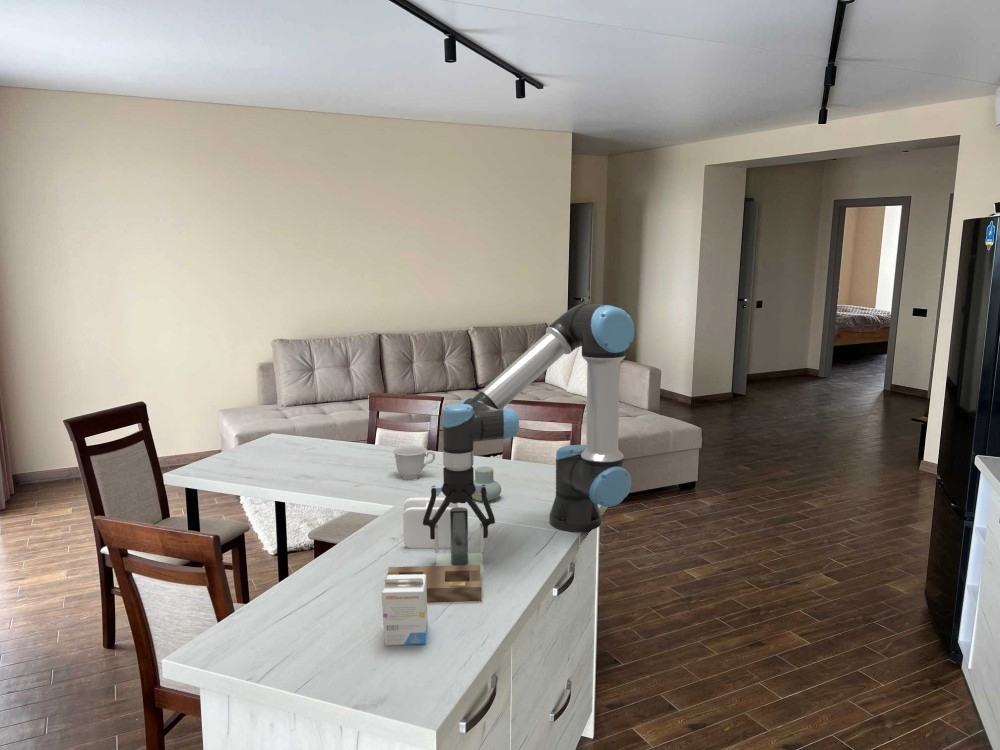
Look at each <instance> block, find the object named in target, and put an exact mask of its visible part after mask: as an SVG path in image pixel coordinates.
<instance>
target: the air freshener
mask: <svg viewBox="0 0 1000 750" xmlns="http://www.w3.org/2000/svg"><path fill="white" fill-rule="evenodd" d="M474 474H475V475H474V485H475V486H482V485H485V486H486V495H487V498H488V501H489V502H491V501H493V500H495V499H497V498H498V497H499V496H500V494H501V493H502V486H501V485H500V483H499V482H497V481H496V480H494V468H493V467H491V466H478V467H476V468H475V472H474ZM472 498H473V499H474V501H477V502H482V503H483V501H482V497H481V495H479V494H478V492H477V491H475V492H474V494H473V495H472Z"/></svg>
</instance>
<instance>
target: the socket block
mask: <svg viewBox="0 0 1000 750" xmlns="http://www.w3.org/2000/svg"><path fill="white" fill-rule="evenodd" d="M413 574H426V589H427V604H428V603H430V604H431V603H432V604H433V603H434V604H435V603H465V602H466V603H467V602H468V603H469V602H482V578H481V577H482V576H481V575H482V573H480V565H452V566H436V565H422V566H420V565H418V566H388V570H387V574H386V576H387V575H413Z"/></svg>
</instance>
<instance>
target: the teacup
mask: <svg viewBox="0 0 1000 750" xmlns="http://www.w3.org/2000/svg"><path fill="white" fill-rule="evenodd" d="M392 453H393V455H394V458H395V463H396V469H397V472H398V473H399V474H400V475H402V479H404V480H409V481H410V480H412V481H413V480H416V479H418V478H419V474H421V473H422V472H423V470H424V468H425V466H427V465H430V464H432V463H433V462H434V461H435V459H436V454H435V451H434V450H431V449H430V450H428V449H427V448H426V447H423V446H420V445H404V446H400V447H399V446H398V447H396V448H394V449H393V450H392ZM429 454H431V455H432V458H431V459H430V460H428V461H426V462H425V457H426V458H428V456H429Z"/></svg>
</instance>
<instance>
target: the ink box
mask: <svg viewBox="0 0 1000 750" xmlns="http://www.w3.org/2000/svg"><path fill="white" fill-rule="evenodd" d="M383 581H384V585H383V588H382V592H381V602H382V619H383V645H384V646H404V645H405V646H407V645H411V646H412V645H426V644H427V636H428V627H429V626H428V623H429V622H428V620H429V619H428V603H427V589H426V574H413V575H387V574H386V578H385V579H383Z"/></svg>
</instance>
